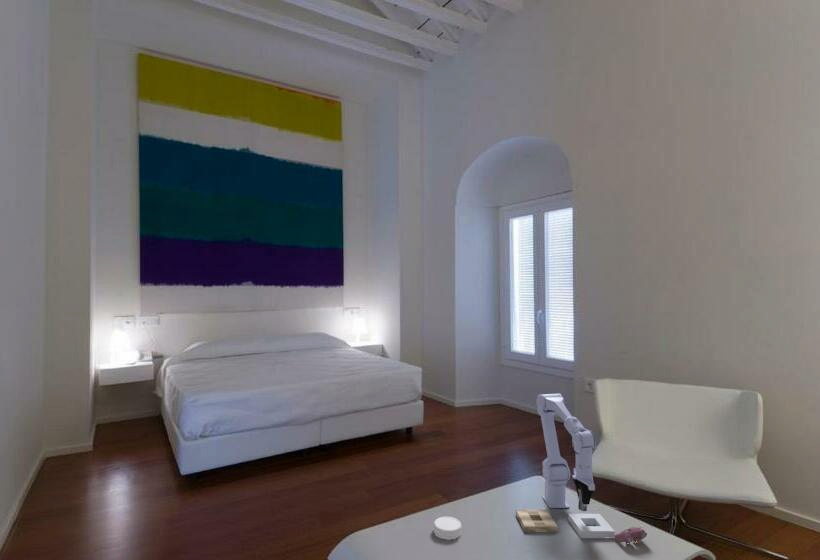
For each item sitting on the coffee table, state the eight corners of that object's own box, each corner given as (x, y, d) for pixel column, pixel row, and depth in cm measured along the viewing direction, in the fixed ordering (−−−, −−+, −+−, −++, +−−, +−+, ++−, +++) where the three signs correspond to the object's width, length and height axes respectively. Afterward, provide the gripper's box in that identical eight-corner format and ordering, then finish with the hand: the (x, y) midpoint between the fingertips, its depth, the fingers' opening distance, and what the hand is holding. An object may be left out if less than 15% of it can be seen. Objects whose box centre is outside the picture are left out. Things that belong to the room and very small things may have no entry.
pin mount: (515, 514, 170) (515, 509, 170) (546, 514, 171) (546, 509, 171) (524, 532, 158) (524, 526, 158) (557, 532, 159) (557, 526, 159)
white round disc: (460, 542, 152) (460, 532, 152) (431, 538, 154) (431, 528, 154) (462, 527, 162) (462, 517, 162) (435, 523, 164) (435, 514, 164)
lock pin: (575, 506, 163) (576, 487, 163) (585, 506, 163) (586, 488, 163) (579, 511, 160) (580, 492, 160) (589, 511, 160) (590, 492, 160)
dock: (568, 520, 167) (568, 513, 167) (599, 520, 167) (599, 513, 167) (581, 538, 155) (581, 531, 155) (614, 538, 155) (614, 531, 155)
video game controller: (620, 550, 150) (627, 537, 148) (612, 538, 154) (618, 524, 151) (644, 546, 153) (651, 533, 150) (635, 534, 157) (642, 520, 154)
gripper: (565, 456, 169) (565, 492, 169) (580, 472, 155) (580, 511, 154) (583, 456, 169) (583, 492, 169) (600, 472, 155) (600, 511, 154)
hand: (583, 501), depth 162 cm, fingers closed on lock pin, 3 cm apart
